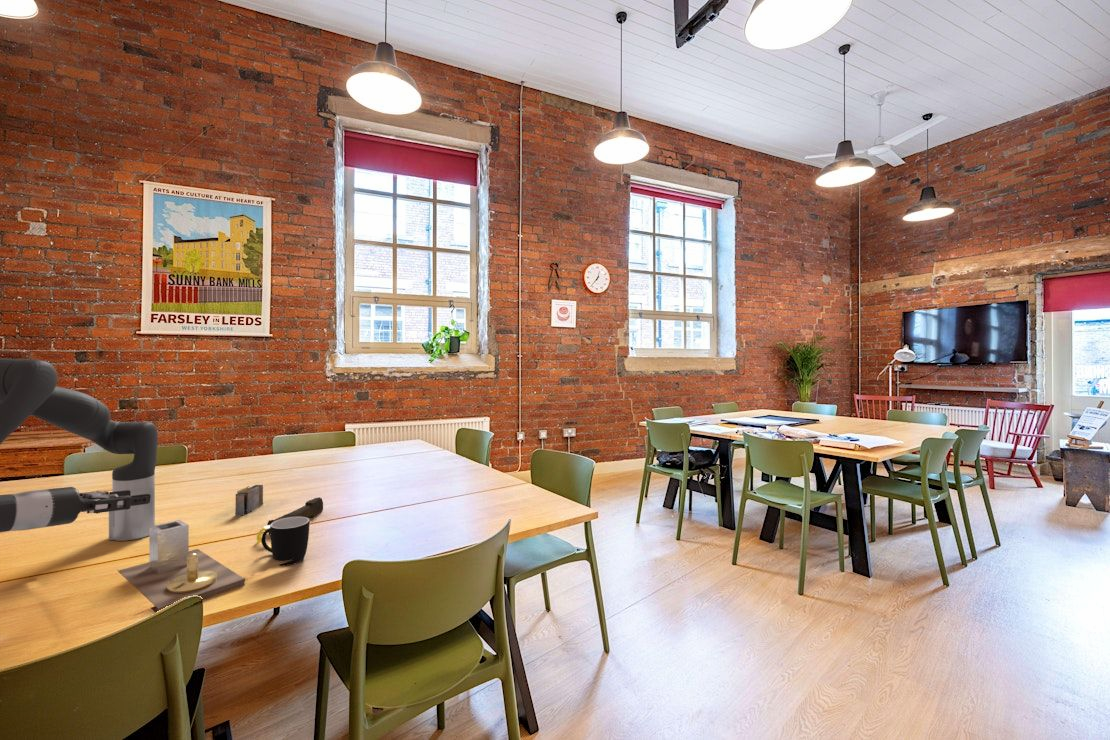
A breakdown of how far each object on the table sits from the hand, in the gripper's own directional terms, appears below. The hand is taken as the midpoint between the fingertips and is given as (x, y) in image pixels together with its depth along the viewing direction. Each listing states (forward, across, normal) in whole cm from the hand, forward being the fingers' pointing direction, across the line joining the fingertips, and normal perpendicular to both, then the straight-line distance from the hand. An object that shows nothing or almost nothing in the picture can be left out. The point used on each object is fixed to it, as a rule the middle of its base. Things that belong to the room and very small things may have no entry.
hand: (139, 496), depth 109 cm
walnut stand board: (+7, -6, +20) cm, 22 cm away
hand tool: (+46, +5, +16) cm, 48 cm away
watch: (+28, -6, +18) cm, 34 cm away
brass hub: (+6, -14, +19) cm, 24 cm away
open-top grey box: (+8, +1, +18) cm, 20 cm away
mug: (+25, -17, +19) cm, 36 cm away
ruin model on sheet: (+46, +29, +15) cm, 56 cm away
